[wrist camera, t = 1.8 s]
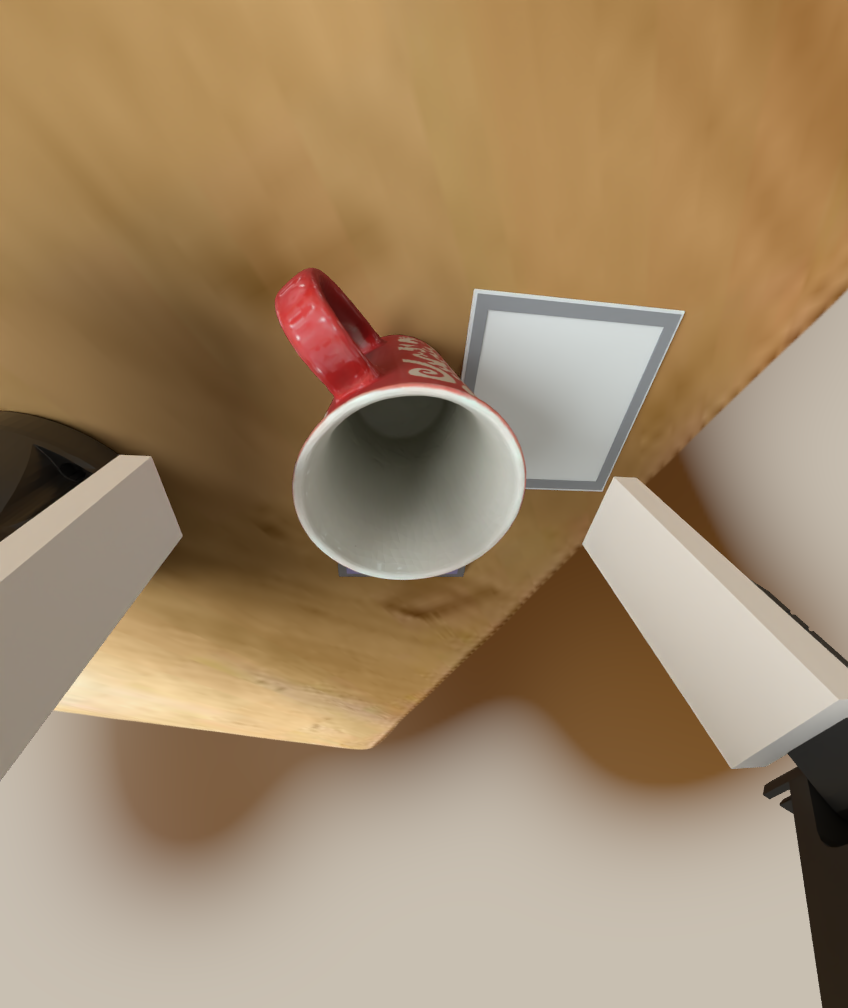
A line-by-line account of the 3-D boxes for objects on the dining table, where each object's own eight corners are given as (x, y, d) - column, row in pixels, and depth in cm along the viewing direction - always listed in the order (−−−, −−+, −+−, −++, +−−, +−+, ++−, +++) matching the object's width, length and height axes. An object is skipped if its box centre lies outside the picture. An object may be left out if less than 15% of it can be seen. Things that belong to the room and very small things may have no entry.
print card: (444, 484, 29) (445, 486, 29) (474, 288, 21) (475, 288, 21) (600, 489, 31) (602, 492, 31) (681, 310, 23) (686, 311, 23)
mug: (483, 417, 26) (552, 535, 15) (377, 468, 28) (370, 606, 17) (404, 221, 19) (427, 175, 8) (269, 305, 21) (138, 361, 10)
